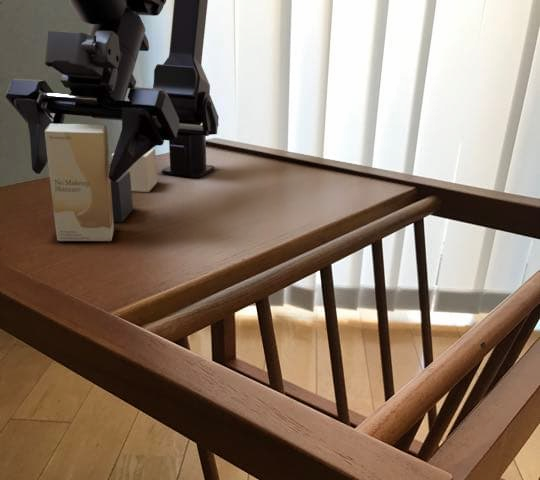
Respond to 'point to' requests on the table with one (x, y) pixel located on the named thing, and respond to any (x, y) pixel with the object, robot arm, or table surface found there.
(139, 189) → the ivory block
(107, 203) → the cosmetic box
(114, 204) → the slate block
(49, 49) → the robot arm
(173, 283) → the table surface
